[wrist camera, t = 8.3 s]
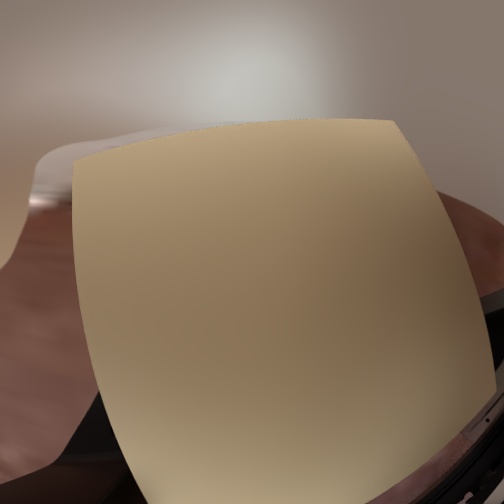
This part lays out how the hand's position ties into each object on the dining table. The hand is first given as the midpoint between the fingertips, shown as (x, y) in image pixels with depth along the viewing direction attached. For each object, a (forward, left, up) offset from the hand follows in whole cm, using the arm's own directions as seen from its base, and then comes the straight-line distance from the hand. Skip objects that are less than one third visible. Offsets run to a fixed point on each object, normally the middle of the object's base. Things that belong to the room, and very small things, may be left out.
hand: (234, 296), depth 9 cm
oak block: (-1, +1, -7) cm, 7 cm away
